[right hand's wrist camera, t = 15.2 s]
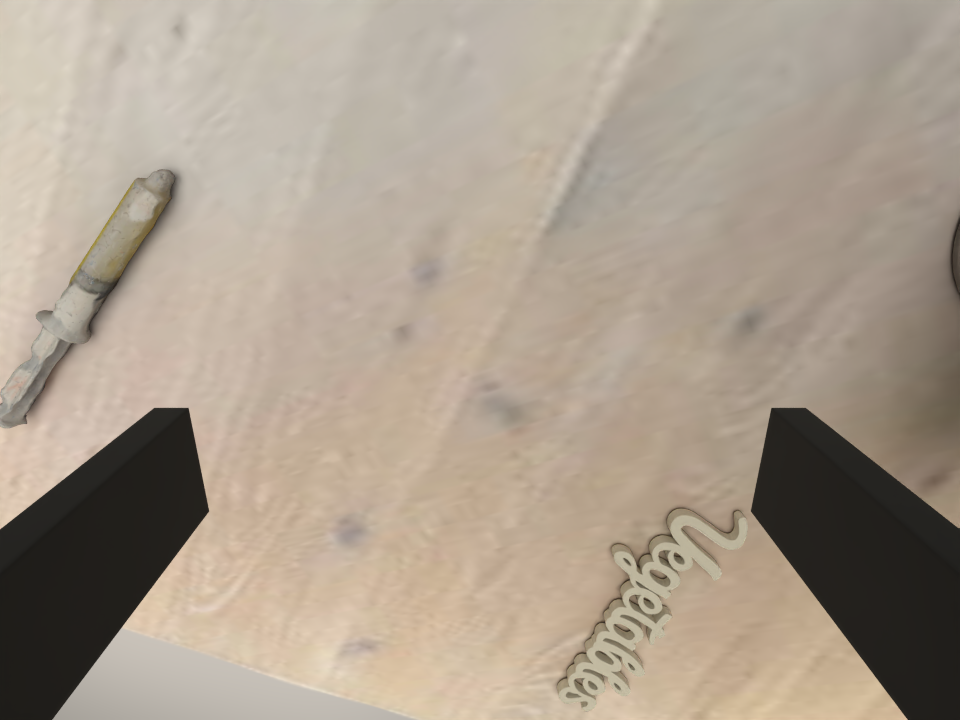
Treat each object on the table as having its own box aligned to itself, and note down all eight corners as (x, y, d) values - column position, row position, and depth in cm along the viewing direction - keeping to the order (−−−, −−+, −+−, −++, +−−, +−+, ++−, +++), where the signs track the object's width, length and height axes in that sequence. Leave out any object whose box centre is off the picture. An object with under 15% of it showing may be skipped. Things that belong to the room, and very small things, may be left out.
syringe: (158, 155, 39) (135, 155, 37) (203, 193, 40) (184, 196, 38) (-7, 391, 46) (-37, 405, 43) (34, 420, 47) (8, 435, 44)
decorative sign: (658, 484, 47) (759, 523, 49) (655, 477, 48) (754, 516, 50) (527, 692, 56) (615, 721, 57) (526, 684, 57) (613, 712, 58)
